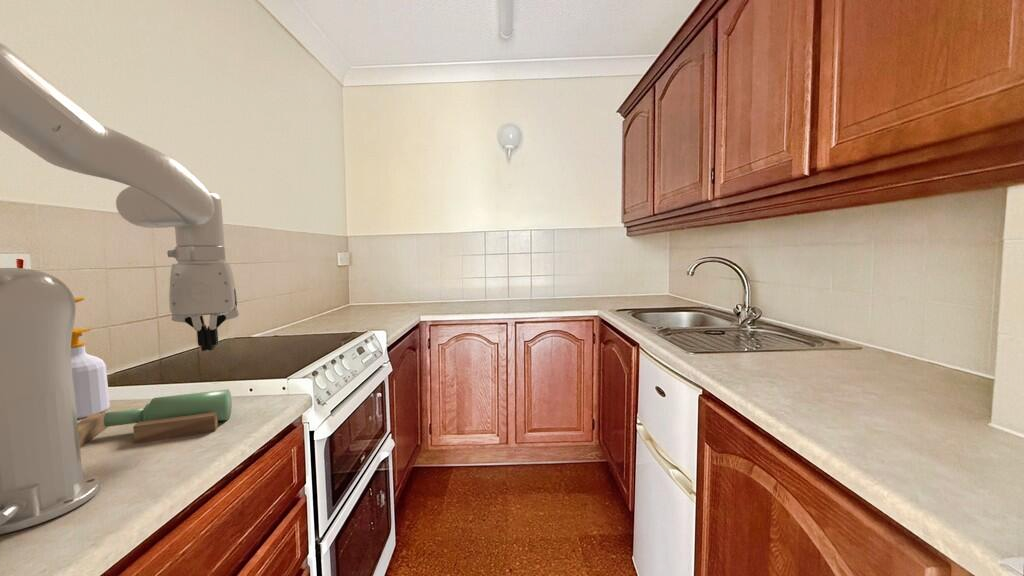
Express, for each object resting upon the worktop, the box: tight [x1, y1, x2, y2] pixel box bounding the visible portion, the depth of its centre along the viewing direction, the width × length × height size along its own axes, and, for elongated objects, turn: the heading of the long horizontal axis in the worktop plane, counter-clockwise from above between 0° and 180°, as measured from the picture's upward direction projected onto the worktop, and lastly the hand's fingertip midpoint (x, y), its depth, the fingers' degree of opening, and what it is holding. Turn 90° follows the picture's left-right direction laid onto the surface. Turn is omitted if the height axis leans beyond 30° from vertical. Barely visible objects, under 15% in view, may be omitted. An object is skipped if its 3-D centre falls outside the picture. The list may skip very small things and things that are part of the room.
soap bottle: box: [71, 297, 111, 420], centre depth 88 cm, size 9×9×25 cm
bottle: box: [104, 389, 233, 428], centre depth 82 cm, size 6×6×19 cm
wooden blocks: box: [77, 411, 219, 449], centre depth 80 cm, size 12×22×3 cm, turn 113°
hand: (208, 349), depth 83 cm, fingers closed
